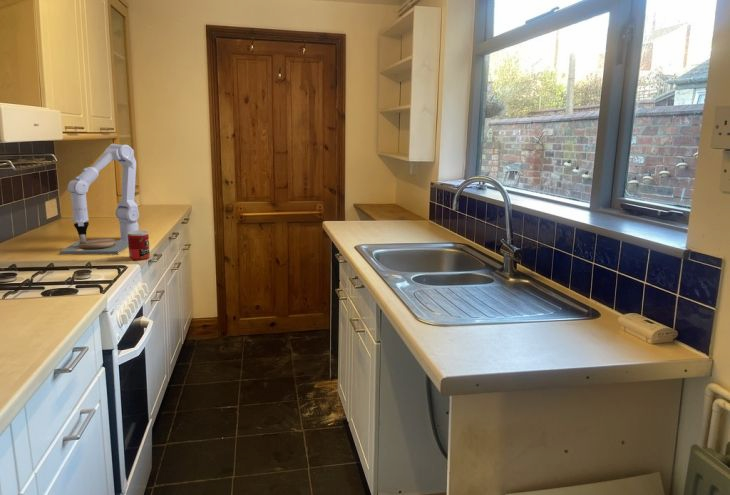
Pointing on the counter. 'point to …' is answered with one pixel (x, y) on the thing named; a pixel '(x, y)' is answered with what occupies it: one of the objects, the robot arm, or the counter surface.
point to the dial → (95, 242)
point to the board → (110, 250)
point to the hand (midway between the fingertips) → (82, 239)
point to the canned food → (138, 245)
